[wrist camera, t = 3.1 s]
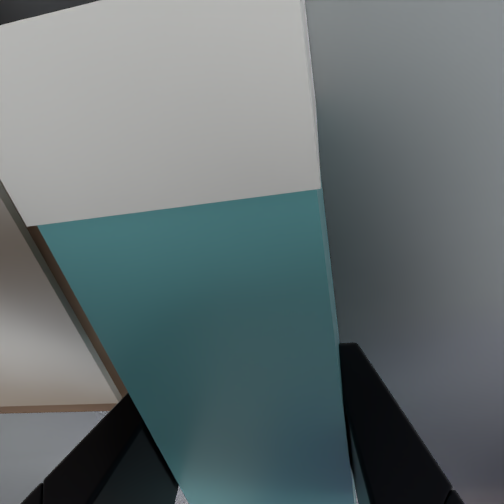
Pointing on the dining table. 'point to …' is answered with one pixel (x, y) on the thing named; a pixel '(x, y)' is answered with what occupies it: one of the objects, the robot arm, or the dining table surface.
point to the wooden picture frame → (45, 331)
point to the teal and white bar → (190, 228)
